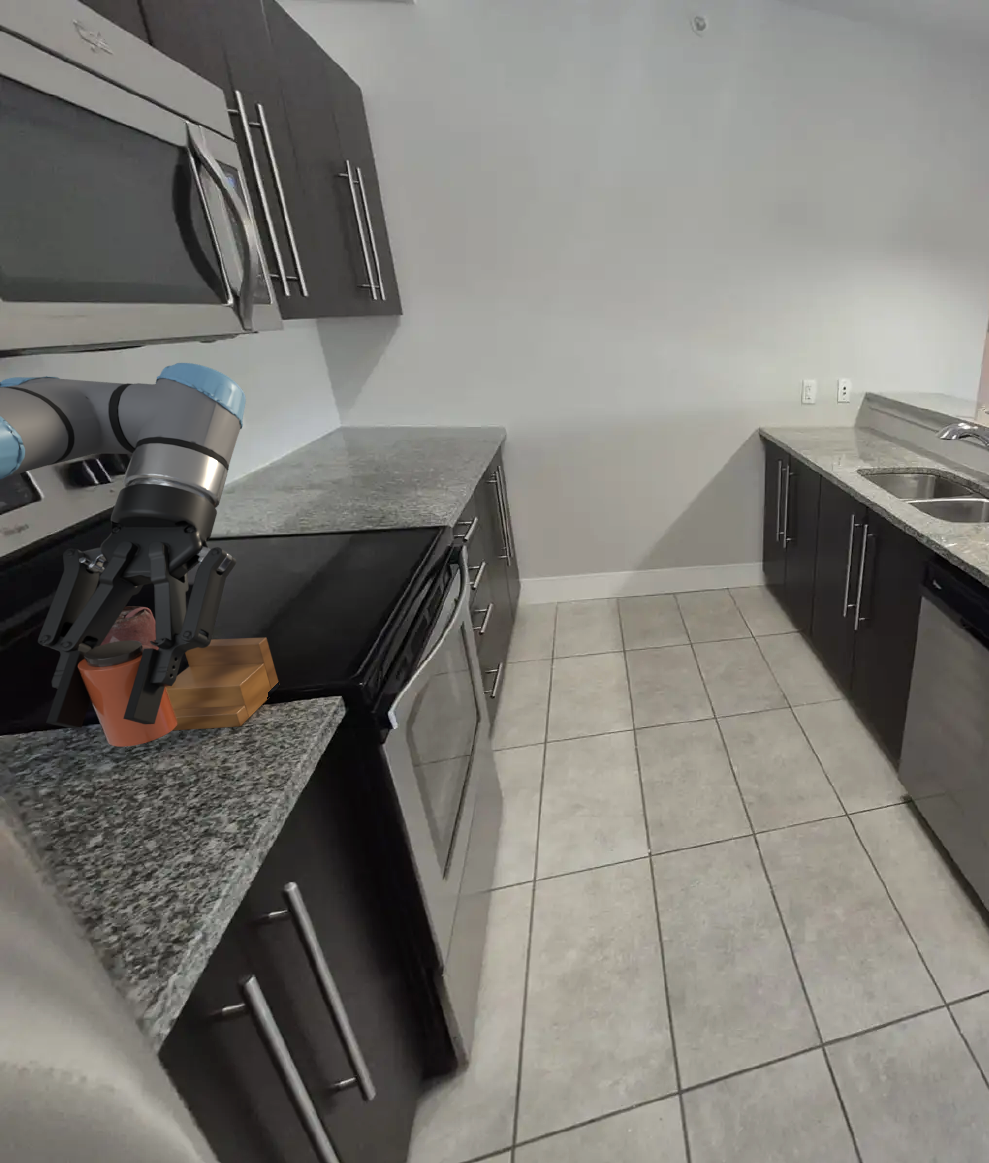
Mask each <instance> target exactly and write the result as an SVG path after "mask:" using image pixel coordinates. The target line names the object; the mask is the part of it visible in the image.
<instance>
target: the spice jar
mask: <svg viewBox="0 0 989 1163" xmlns="http://www.w3.org/2000/svg"><path fill="white" fill-rule="evenodd" d="M144 649H151V647H149V646H146V645H142V643H141V642H139V641H134V640H126V641H117V642H112V643H108V644H104V645H101V646H98V647H95V648H93V649H91V650H89V651H88V652H86V653H85V655H84V659H83V660H81V661H80V662H79V664H78V669H79V671H80V674H81V676H82V679H83V681H84V684H85V686H86V689H87V691H88V694H89V697H90V699H91V700H90V702H91V704H92V707H93V709H94V712H95V714H96V717H97V719H98V721H99V724H100V727H101V729H102V732H103V734H104V736H105V740H106V743H108V744H109V745H110V746H113V747H116V748H117V747H121V748H123V747H124V748H125V747H133V746H138V745H143V744H146V743H149V742H153V741H155V740H157V739H160V738H162V737H165V736H167V735H168V734H169V733H170V732H172V730H173V729H174V728H175V727H176V726H177V723H178V721H177V718H176V715H175V712H174V709H173V706H172V704H171V701H170V698H169V695H168V692H167V689H166V686H165V688H164V692H163V695H162V699H161V702H160V706H159V710H158V713H157V717H156V721H155V724H142V723H138V722H134V721H130V720H126V719H123V718H124V715H125V711H126V708H127V704H128V701H129V698H130V694H131V691H132V688H133V684H134V681H135V677H136V674H137V671H138V667H139V664H140V661H141V657H142V654H143V651H144Z"/></svg>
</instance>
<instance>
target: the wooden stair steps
mask: <svg viewBox="0 0 989 1163" xmlns="http://www.w3.org/2000/svg"><path fill="white" fill-rule="evenodd" d="M184 655H185V658H186V660H187V663H188V667H187V668H186V669H184V670H183V671H181V672H180V673H179V674H177V677H176V681H175V682H174V684H173V685H172V686H166V689H167V692H168V695H169V698H170V701H171V704H172V706H173V709H174V712H175V715H176V718H177V721H178V723H177V726H176V727H175V728H174V729H173V730H172V731H189V730H190V731H191V730H202V729H203V730H205V729H218V728H219V729H221V728H222V729H223V728H236V727H237V728H239V727H242V726H243V725H244V724H245V723H246V721H248V720H249V718H250V717H252V715H254V713H255V712H256V711H258V710H259V709H260V707H261V706H262V705H263V704H265V703H266V702H267V700H268V699H267V697H268V692H269V691H270V690H271V689H272V688H273V687H274V686H275V685H276V684H277V683H278V682H279V679H278V675H277V672H276V668H275V664H274V661H273V656H272V653H271V649H270V645H269V642H268V639H267V637H246V638H245V637H242V638H216V639H211V642H210V644H209V645H208V646H207V647H205V648H199V647H197V648H194V649H191V650H188V651H187V652H186V653H184ZM172 731H171V732H172Z"/></svg>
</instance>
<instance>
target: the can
mask: <svg viewBox="0 0 989 1163" xmlns="http://www.w3.org/2000/svg"><path fill="white" fill-rule="evenodd" d="M126 640H134V641H139V642H141V643H142V645H146V646H149V647H151V648H154V649H156V650H158V649H159V647H157V646H154V645H152V644H151V642H150V641H153V642H154V640H156V629H155V616H154V614H153V612H152V610H151V609H150V608H148V607H146V606H139V605H137V606H135V605H132V606H130V605H129V606H125V608H124V609H123V611H122V612H121V614H120V615H119V617H118V618H117V620H116V622H115V623H114V625H113V626H112V628H111V629H110V631H109V633H108V634H107V636H106V637H105V639H104V640H103V642H102V643H101V645H104V644H108V643H112V642H117V641H126ZM101 645H100V646H101Z"/></svg>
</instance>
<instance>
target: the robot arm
mask: <svg viewBox="0 0 989 1163" xmlns="http://www.w3.org/2000/svg"><path fill="white" fill-rule="evenodd" d="M246 400H247V399H246V394H245V392H244V391H243V389H242V387H240V386H239V384H238V383H237V382H236V381H235V380H234V379H233V378H231V377H230V376H228V375H227V374H225V373H223V372H221V371H219V370H217V369H214V368H211V367H209V366H206V365H201V364H198V363H193V362H176V363H174V364H171V365H166V366H165V367H164V368H163V369H162V370H161V372H160V374H159V375H157V376H156V380H155V383H139V382H137V383H128V382H127V383H123V382H122V383H120V382H110V381H109V382H108V381H94V380H81V379H70V378H69V379H68V378H60V377H58V376H47V375H46V376H37V377H35V376H32V377H27V376H26V377H25V376H23V377H22V376H18V377H17V376H15V377H9V378H5V379H2V380H1V381H0V480H3V479H4V478H9V477H11V476H15V475H19V474H22V473H26V472H29V471H32V470H36V469H40V468H44V467H48V466H52V465H56V464H60V463H64V462H68V461H71V460H72V461H73V460H75V459H80V458H83V457H89V456H91V455H99V454H100V455H101V454H109V455H110V454H114V455H115V454H116V455H131V457H130V460H129V463H128V465H127V468H126V471H125V473H124V476H123V480H122V486H123V488H122V489H121V490H119V493H118V495H117V498H116V501H115V504H114V507H113V508H112V509H113V510H112V512H111V516H110V523H111V533H110V534H109V535H108V536H107V538H106V539H104V540H103V542H101V544H100V547H96V548H92V549H88V550H83V551H81V550H79V549H77V548H74V547H70V548H67V549H66V550H64V552H63V554H62V559H63V573H62V575H61V578H60V581H59V584H58V586H57V588H56V591H55V594H54V596H53V599H52V601H51V604H50V606H49V609H48V612H47V615H46V617H45V620H44V622H43V625H42V628H41V630H40V633H39V635H38V638H37V643H38V644H39V645H41V646H43V647H46V648H49V649H53V650H55V651H58V652H59V654H60V656H59V659H58V661H57V665H56V668H55V671H54V673H53V676H52V679H51V687H52V688H55V689H57V690H56V692H55V695H54V698H53V701H52V704H51V706H50V709H49V713H48V716H47V718H46V724H51V725H55V726H59V727H64V728H68V729H82V727H83V724H84V722H85V718H86V715H87V711H88V709H89V705H90V702H91V699H90V697H89V694H88V691H87V689H86V686H85V684H84V681H83V679H82V676H81V674H80V671H79V669H78V664H79V662H80V661H81V660H83V659H84V655H85V653H86V652H88V651H89V650H91V649H93V648H95V647H98V646H100V645H101V643H102V642H103V640H104V639H105V637H106V636H107V634H108V633H109V631H110V629H111V628H112V626H113V625H114V623H115V622H116V620H117V618H118V617H119V615H120V614H121V612H122V611H123V609H124V608H125V607H127V605H128V603H129V601H130V600H131V599H132V597H133V596H136V595H138V594H139V593H140V592H141V590H142V589H143V587H144V586H146V585H150V584H153V588H154V619H155V629H156V640H154V642H153V641H150V642H151V644H152V645H154V646H157V647H159V649H158V650H156V649H154V648H151V649H144V651H143V654H142V657H141V661H140V664H139V667H138V671H137V674H136V677H135V681H134V684H133V688H132V691H131V694H130V698H129V701H128V704H127V708H126V711H125V715H124V718H123V719H126V720H130V721H134V722H138V723H142V724H155V721H156V717H157V713H158V710H159V706H160V702H161V699H162V695H163V692H164V688H165V686H172V685H173V684H174V682H175V681H176V677H177V676H178V673H179V669H180V666H181V662H182V659H183V656H184V655H185V653H186V652H187V651H188V650H191V649H194V648H197V647H199V648H205V647H207V646H208V645H209V644H210V642H211V640H213V639H212V638H213V635H214V630H215V626H216V622H217V617H218V613H219V609H220V605H221V601H222V596H223V592H224V588H225V584H226V580H227V577H228V576H229V575H230V574H231V572H232V570H233V569H234V568H235V566H236V564H237V559H236V558H235V557H233V556H232V555H231V554H229V553H228V552H227V551H226V550H224V549H223V548H221V547H220V546H219V547H218V546H215V547H212V548H210V547H209V545H208V544H207V543H208V541H209V540H210V539H211V536H212V533H213V530H214V526H215V523H216V519H217V515H218V511H217V508H218V507H219V506H220V502H221V499H222V495H223V492H224V488H225V485H226V481H227V477H228V472H229V469H230V464H231V460H232V458H233V453H234V450H235V448H236V443H237V440H238V437H239V435H240V432H241V430H242V429H243V426H244V422H243V420H244V414H245V408H246V402H247V401H246ZM106 562H107V565H106V566H105V567H104V563H106ZM197 565H198V568H197V570H196V573H195V577H194V580H193V583H192V589H191V592H190V596H189V599H188V603H187V595H186V594H187V592H188V591H189V572H190V571H191V570H192V569H193V568H195V567H196V566H197ZM98 584H99V585H98Z"/></svg>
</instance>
